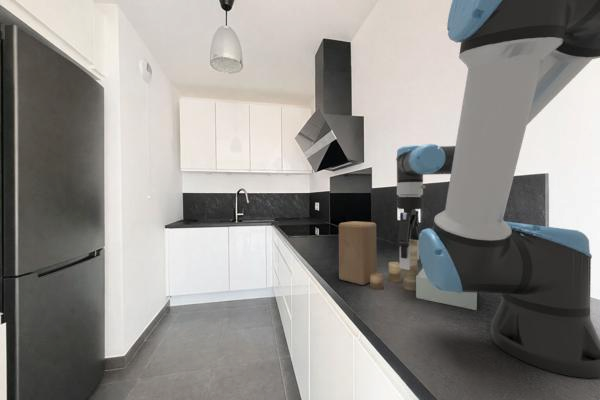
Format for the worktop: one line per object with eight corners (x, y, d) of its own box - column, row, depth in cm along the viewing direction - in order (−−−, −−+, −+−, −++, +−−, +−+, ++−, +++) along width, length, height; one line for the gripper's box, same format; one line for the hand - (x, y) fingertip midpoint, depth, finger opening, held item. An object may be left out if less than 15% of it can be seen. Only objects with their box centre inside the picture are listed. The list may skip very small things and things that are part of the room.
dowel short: (380, 290, 76) (380, 277, 76) (368, 288, 79) (368, 275, 79) (384, 286, 80) (384, 274, 80) (372, 284, 82) (372, 272, 82)
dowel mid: (399, 283, 83) (399, 265, 83) (387, 281, 85) (387, 263, 85) (402, 280, 86) (402, 263, 86) (390, 278, 88) (390, 261, 88)
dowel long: (415, 291, 75) (415, 242, 75) (402, 289, 77) (401, 241, 77) (418, 287, 78) (418, 240, 78) (405, 285, 81) (404, 239, 81)
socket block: (476, 310, 62) (476, 286, 62) (416, 297, 70) (416, 276, 70) (476, 293, 74) (476, 272, 74) (424, 284, 82) (424, 265, 82)
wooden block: (337, 279, 87) (337, 222, 87) (352, 273, 94) (352, 220, 94) (363, 286, 80) (363, 224, 80) (377, 279, 87) (377, 222, 87)
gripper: (414, 196, 66) (414, 276, 66) (429, 196, 86) (429, 257, 86) (385, 196, 70) (385, 271, 70) (406, 196, 90) (406, 254, 90)
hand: (409, 263), depth 78 cm, fingers open, 13 cm apart
